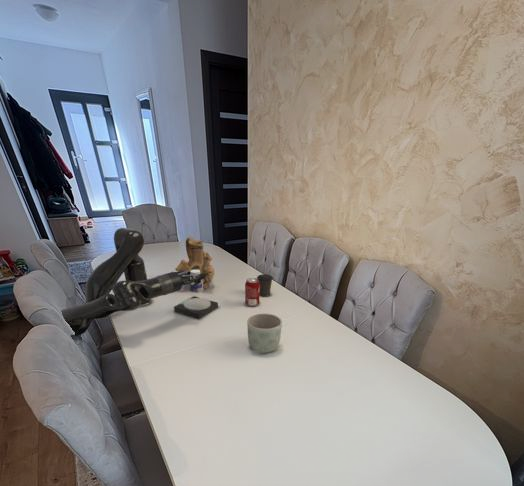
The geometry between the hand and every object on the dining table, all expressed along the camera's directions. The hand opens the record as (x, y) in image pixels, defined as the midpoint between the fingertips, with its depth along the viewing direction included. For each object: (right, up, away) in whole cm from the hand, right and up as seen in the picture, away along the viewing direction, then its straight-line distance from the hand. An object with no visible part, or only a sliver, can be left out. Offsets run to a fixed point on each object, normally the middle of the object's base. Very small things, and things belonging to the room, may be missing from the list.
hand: (200, 273), depth 129 cm
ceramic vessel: (-7, 0, +33) cm, 34 cm away
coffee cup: (+27, -4, +28) cm, 40 cm away
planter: (+27, -31, -14) cm, 43 cm away
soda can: (+21, -10, +18) cm, 30 cm away
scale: (-4, -14, +12) cm, 18 cm away
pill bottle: (-2, -7, +2) cm, 8 cm away
